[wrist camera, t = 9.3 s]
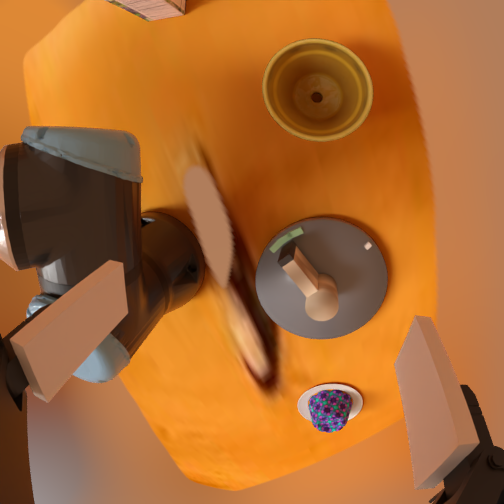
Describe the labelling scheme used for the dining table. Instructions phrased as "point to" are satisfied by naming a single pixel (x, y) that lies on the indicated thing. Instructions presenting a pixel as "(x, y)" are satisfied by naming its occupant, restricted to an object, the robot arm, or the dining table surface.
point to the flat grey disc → (324, 262)
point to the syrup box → (152, 8)
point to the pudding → (330, 406)
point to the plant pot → (317, 89)
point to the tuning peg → (310, 283)
